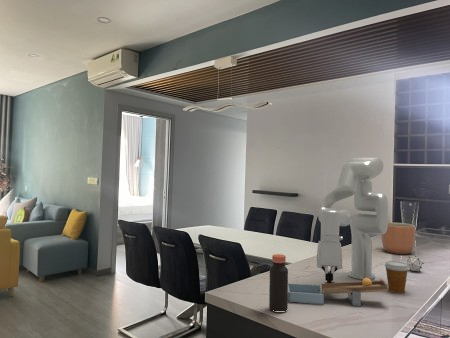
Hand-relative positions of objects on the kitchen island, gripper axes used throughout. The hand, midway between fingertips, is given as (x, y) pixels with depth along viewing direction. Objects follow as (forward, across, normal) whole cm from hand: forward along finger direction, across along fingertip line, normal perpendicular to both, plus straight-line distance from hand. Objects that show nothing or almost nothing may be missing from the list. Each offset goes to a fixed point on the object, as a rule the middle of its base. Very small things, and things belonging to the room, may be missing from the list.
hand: (329, 282), depth 145 cm
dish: (+5, +11, +7) cm, 14 cm away
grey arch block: (+5, -9, +7) cm, 12 cm away
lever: (+2, -9, +4) cm, 10 cm away
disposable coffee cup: (+5, -30, -11) cm, 33 cm away
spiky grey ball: (+4, -51, -47) cm, 70 cm away
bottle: (+6, +21, +21) cm, 31 cm away
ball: (-3, -14, +7) cm, 15 cm away
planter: (+3, -59, -96) cm, 113 cm away
